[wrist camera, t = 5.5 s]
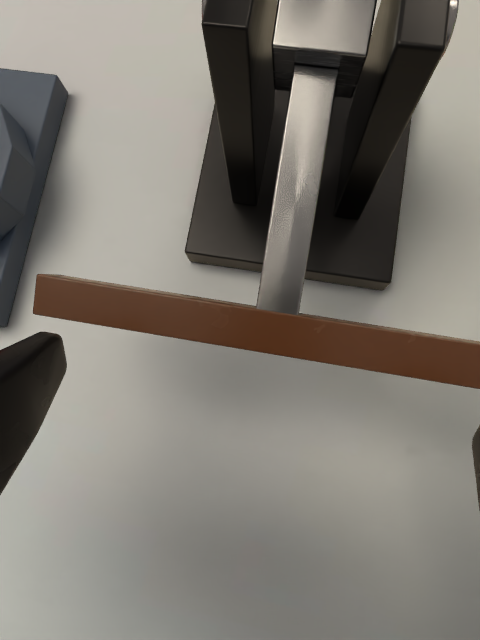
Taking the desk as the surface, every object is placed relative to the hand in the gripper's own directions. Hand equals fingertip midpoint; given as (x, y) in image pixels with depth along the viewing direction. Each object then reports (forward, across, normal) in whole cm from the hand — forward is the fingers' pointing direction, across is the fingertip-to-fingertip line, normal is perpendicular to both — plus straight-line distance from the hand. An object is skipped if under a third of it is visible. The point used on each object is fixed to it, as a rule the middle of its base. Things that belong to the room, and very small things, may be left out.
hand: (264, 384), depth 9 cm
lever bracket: (+12, 0, -1) cm, 12 cm away
